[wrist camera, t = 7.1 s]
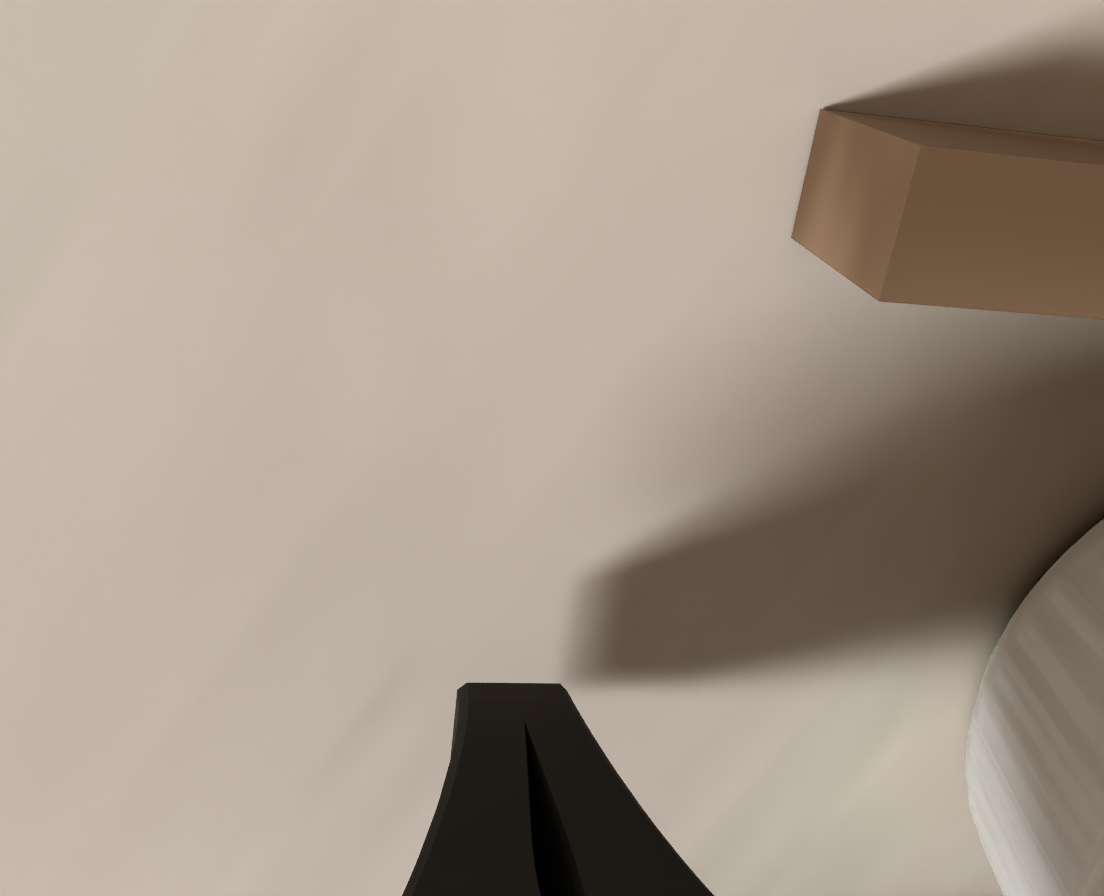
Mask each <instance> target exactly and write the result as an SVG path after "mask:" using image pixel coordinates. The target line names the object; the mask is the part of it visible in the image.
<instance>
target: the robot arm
mask: <svg viewBox="0 0 1104 896" xmlns="http://www.w3.org/2000/svg"><path fill="white" fill-rule="evenodd" d="M402 896H714V895H713V894H712V893H711V892H710V891H709V890H708V888H707V887H706V886H705V885H704V884H703V883H702V882H701V881H700V879H699V878H698V877H697V876H696V875H695V874H694V873H693V871H692V870H691V869H690V868H689V867H688V865H687V864H686V863H685V862H684V861H683V860H682V858H681V857H680V856H679V855H678V853H677V852H676V851H675V850H674V848H673V847H672V846H671V845H670V843H669V842H668V841H667V840H666V839H665V837H664V836H663V835H662V834H661V832H660V831H659V830H658V828H657V827H656V826H655V825H654V823H653V822H652V821H651V819H650V818H649V817H648V815H647V814H646V813H645V811H644V810H643V809H642V807H641V806H640V804H639V803H638V802H637V800H636V799H635V797H634V796H633V794H632V793H631V792H630V790H629V789H628V787H627V786H626V785H625V783H624V782H623V780H622V779H621V778H620V776H619V775H618V773H617V772H616V770H615V769H614V767H613V766H612V764H611V763H610V761H609V760H608V758H607V757H606V755H605V754H604V752H603V751H602V749H601V747H600V746H599V744H598V743H597V741H596V740H595V738H594V736H593V735H592V733H591V732H590V730H589V728H588V727H587V725H586V723H585V722H584V720H583V718H582V717H581V715H580V713H579V711H578V710H577V708H576V706H575V705H574V703H573V701H572V699H571V697H570V696H569V694H568V692H567V691H566V689H565V688H564V687H563V686H562V685H561V684H545V683H466V684H465V685H463V686H462V687H461V688H459V689H458V690H457V699H456V709H455V719H454V730H453V740H452V750H451V760H450V764H449V767H448V771H447V774H446V778H445V782H444V785H443V789H442V792H441V796H440V799H439V802H438V806H437V809H436V812H435V814H434V817H433V820H432V822H431V825H430V828H429V831H428V833H427V836H426V839H425V841H424V844H423V847H422V849H421V852H420V855H419V857H418V860H417V862H416V865H415V867H414V870H413V872H412V874H411V877H410V879H409V881H408V884H407V886H406V888H405V890H404V893H403V895H402Z"/></svg>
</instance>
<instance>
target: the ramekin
mask: <svg viewBox="0 0 1104 896" xmlns="http://www.w3.org/2000/svg"><path fill="white" fill-rule="evenodd" d="M966 750H967V756H966V762H965V778H966V783H967V786H968V803H969V807H970V811H971V815H972V817H973V820H974V822H975V825H976V827H977V830H978V834H979V837H980V841H981V844H982V846H983V848H984V851H985V853H986V856H987V858H988V860H989V862H990V865H991V867H992V869H993V872H994V874H995V876H996V879H997V881H998V883H999V886H1000V888H1001V890H1002V893H1003V895H1004V896H1104V519H1102V520H1101V521H1100V522H1099V523H1098V524H1096V525H1095V526H1094V527H1093V528H1091V529H1090V530H1089V531H1088V532H1087V533H1086V534H1085V535H1084V536H1082V537H1081V538H1080V539H1079V540H1078V541H1077V542H1076V543H1075V544H1074V545H1072V546H1071V547H1070V548H1069V549H1068V550H1067V551H1066V552H1065V553H1064V554H1063V555H1062V556H1061V557H1060V558H1059V559H1058V560H1057V561H1056V562H1055V563H1054V565H1053V566H1052V567H1051V568H1050V569H1049V570H1048V571H1047V572H1046V573H1045V575H1044V576H1043V577H1042V578H1041V579H1040V580H1039V581H1038V583H1037V584H1036V585H1035V586H1034V587H1033V589H1032V590H1031V591H1030V592H1029V593H1028V595H1027V596H1026V597H1025V599H1024V600H1023V602H1022V603H1021V605H1020V606H1019V607H1018V609H1017V610H1016V612H1015V613H1014V615H1013V616H1012V618H1011V619H1010V621H1009V623H1008V625H1007V626H1006V628H1005V630H1004V632H1003V634H1002V635H1001V637H1000V639H999V641H998V643H997V645H996V647H995V649H994V651H993V653H992V655H991V657H990V659H989V662H988V664H987V667H986V669H985V672H984V675H983V677H982V681H981V684H980V688H979V692H978V695H977V699H976V703H975V705H974V707H973V711H972V718H971V723H970V727H969V731H968V735H967V743H966Z"/></svg>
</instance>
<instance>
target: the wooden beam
mask: <svg viewBox="0 0 1104 896" xmlns="http://www.w3.org/2000/svg"><path fill="white" fill-rule="evenodd" d="M791 238H792V239H794V240H795V241H796V242H798V243H799V244H801V245H802V246H803V247H805V248H806V249H807V250H809V251H810V252H812V253H813V254H814V255H816V256H817V257H819V258H820V259H821V260H823V261H824V262H825V263H827V264H828V265H830V266H831V267H832V268H834V269H835V270H836V271H838V272H839V273H841V274H842V275H843V276H845V277H846V278H847V279H849V280H850V281H852V282H853V283H854V284H856V285H857V286H858V287H860V288H861V289H863V290H864V291H865V292H867V293H868V294H869V295H871V296H872V297H874V298H875V299H876V300H878V301H881V302H894V303H906V304H919V305H931V306H944V307H956V308H969V309H981V310H994V311H1006V312H1019V313H1031V314H1044V315H1056V316H1069V317H1081V318H1094V319H1104V141H1097V140H1088V139H1079V138H1070V137H1062V136H1053V135H1044V134H1035V133H1027V132H1018V131H1009V130H1000V129H992V128H983V127H974V126H965V125H957V124H948V123H939V122H930V121H922V120H913V119H904V118H895V117H887V116H878V115H869V114H861V113H852V112H843V111H834V110H826V109H820V113H819V117H818V121H817V126H816V130H815V135H814V139H813V144H812V148H811V153H810V157H809V161H808V166H807V170H806V175H805V179H804V184H803V188H802V193H801V197H800V202H799V206H798V210H797V215H796V219H795V224H794V228H793V233H792V237H791Z"/></svg>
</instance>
